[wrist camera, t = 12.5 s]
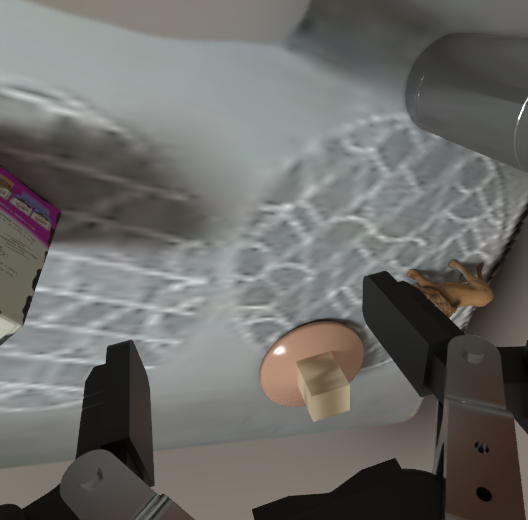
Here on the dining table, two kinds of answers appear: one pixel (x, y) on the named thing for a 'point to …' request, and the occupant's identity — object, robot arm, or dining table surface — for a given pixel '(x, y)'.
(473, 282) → the lion figurine
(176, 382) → the dining table surface
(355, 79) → the dining table surface
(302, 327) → the dish
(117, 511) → the robot arm
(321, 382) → the birch block
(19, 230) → the candy bar box
